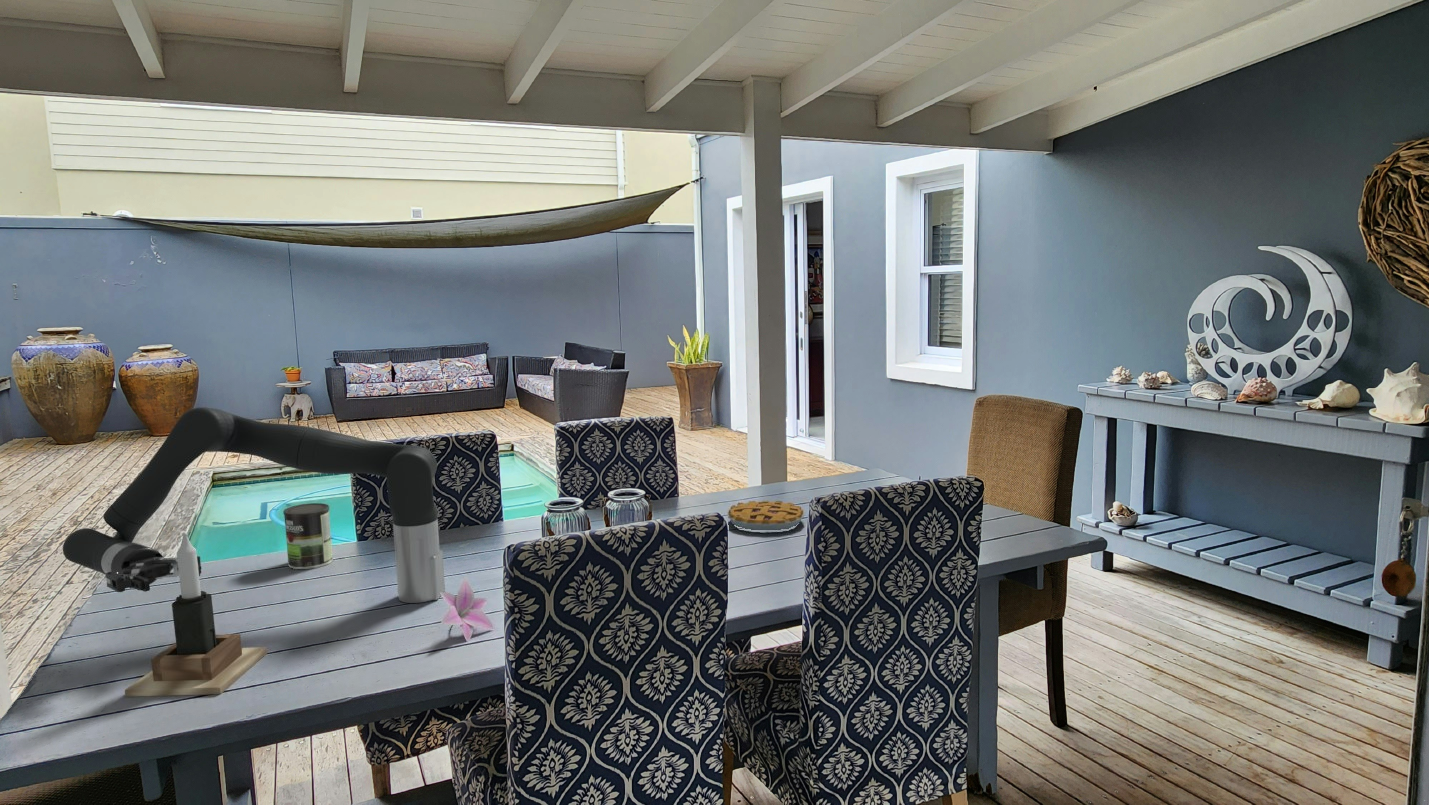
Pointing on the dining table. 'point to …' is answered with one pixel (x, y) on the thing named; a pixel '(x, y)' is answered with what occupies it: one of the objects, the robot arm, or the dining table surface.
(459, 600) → the lily
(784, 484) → the dining table surface
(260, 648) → the candle stand
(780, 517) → the pie
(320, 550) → the coffee can
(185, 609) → the candle
